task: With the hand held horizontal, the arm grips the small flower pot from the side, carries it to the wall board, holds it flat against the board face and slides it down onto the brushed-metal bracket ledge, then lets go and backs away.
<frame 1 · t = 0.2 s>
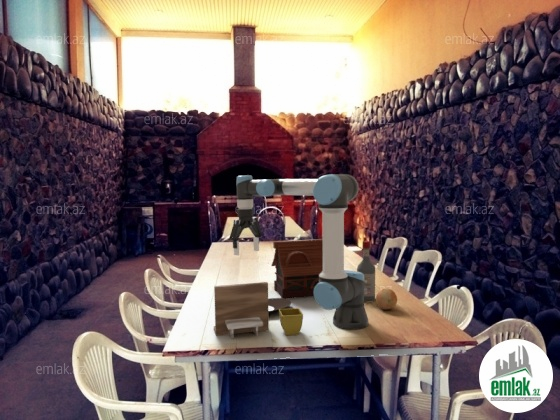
hand: (246, 252, 213), 28 cm above the table, tool pointing down, fingers open, 13 cm apart
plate: (262, 309, 216), on the table
flower pot: (291, 333, 184), on the table
onion: (386, 309, 214), on the table
house: (305, 292, 246), on the table
cleat board: (242, 332, 185), on the table
liquor: (365, 299, 231), on the table
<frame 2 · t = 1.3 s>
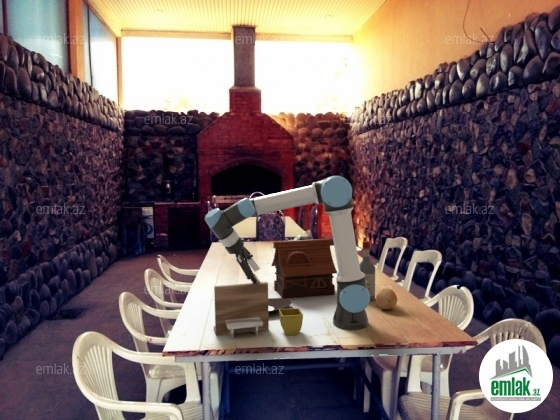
hand: (258, 278, 194), 20 cm above the table, tool tilted 35°, fingers open, 12 cm apart
nothing on the table moved.
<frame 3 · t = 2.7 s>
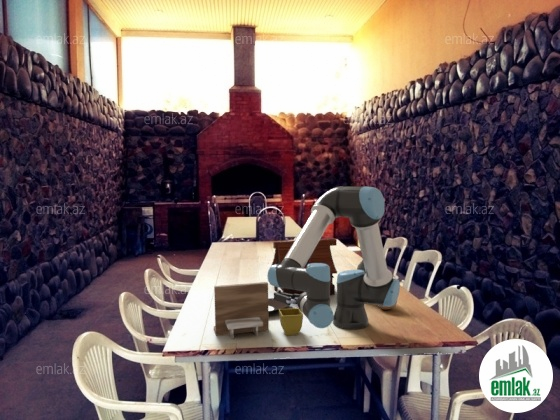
hand: (295, 290, 174), 20 cm above the table, tool horizontal, fingers open, 13 cm apart
nothing on the table moved.
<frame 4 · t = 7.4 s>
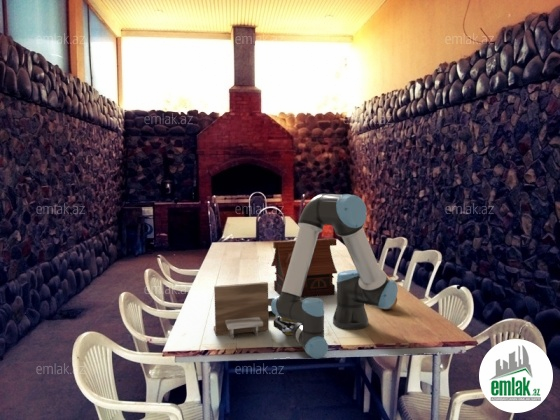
hand: (287, 315, 188), 6 cm above the table, tool horizontal, fingers closed on flower pot, 9 cm apart
flower pot: (291, 333, 184), on the table, touching gripper
everything else where it was.
when the fingers open (13 cm above the table, at t = 14.2 s): flower pot stays where it is, resting on cleat board.
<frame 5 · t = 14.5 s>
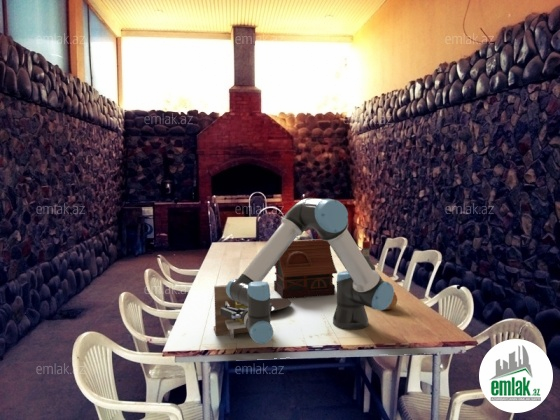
hand: (242, 303, 182), 13 cm above the table, tool horizontal, fingers open, 13 cm apart
flower pot: (246, 322, 180), point 6 cm above the table, touching cleat board
everything else where it was.
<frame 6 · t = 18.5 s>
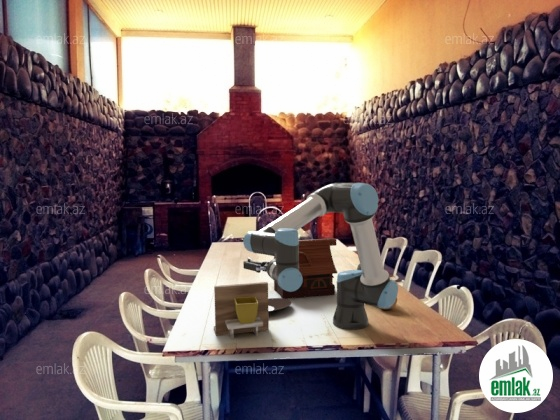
hand: (265, 259, 175), 32 cm above the table, tool horizontal, fingers open, 13 cm apart
nothing on the table moved.
at the end: flower pot inside the target area on the cleat board (0.9 cm from its centre), point 5.8 cm above the cleat board's base; flower pot tilted 0°; the gripper is holding nothing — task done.
